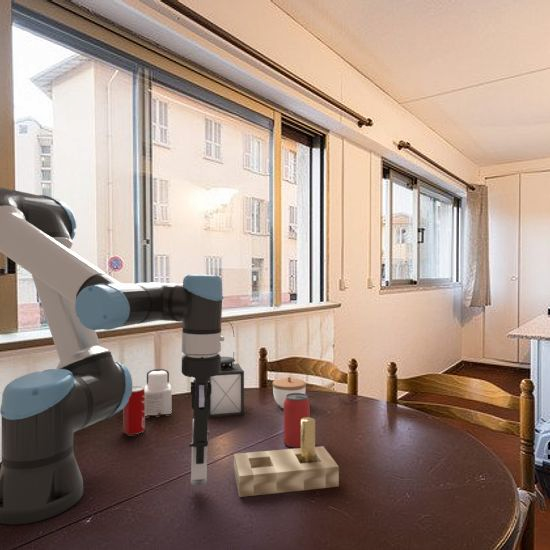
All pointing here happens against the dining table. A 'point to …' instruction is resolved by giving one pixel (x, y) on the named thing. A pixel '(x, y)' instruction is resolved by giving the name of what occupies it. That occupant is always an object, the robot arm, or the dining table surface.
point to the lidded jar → (287, 388)
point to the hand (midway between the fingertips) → (199, 473)
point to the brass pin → (307, 440)
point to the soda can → (135, 412)
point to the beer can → (294, 417)
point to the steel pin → (197, 481)
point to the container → (158, 393)
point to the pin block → (283, 472)
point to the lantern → (227, 389)
